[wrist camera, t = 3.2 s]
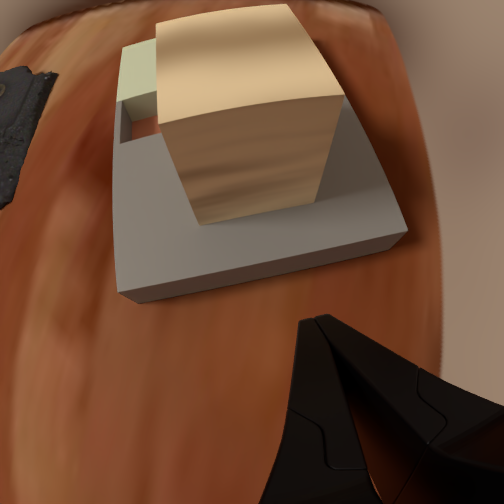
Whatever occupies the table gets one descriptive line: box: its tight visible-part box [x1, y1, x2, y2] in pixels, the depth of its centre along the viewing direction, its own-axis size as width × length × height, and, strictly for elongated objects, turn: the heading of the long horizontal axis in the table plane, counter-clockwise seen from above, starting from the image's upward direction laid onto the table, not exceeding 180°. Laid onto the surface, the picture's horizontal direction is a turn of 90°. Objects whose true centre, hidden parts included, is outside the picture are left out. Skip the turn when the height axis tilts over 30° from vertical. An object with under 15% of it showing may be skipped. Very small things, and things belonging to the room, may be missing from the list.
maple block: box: [156, 4, 345, 226], centre depth 16 cm, size 8×7×9 cm
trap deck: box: [113, 38, 408, 303], centre depth 24 cm, size 25×18×4 cm
